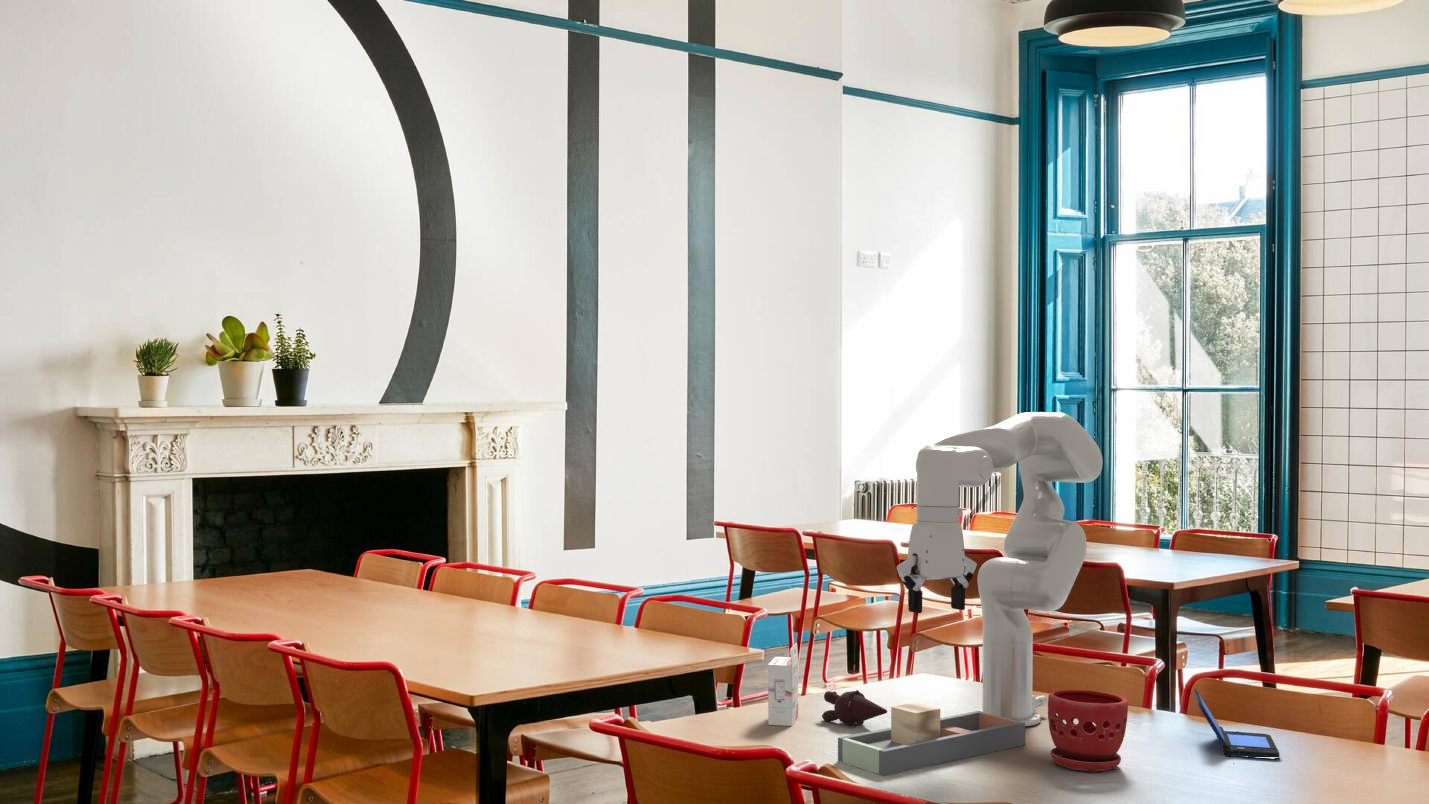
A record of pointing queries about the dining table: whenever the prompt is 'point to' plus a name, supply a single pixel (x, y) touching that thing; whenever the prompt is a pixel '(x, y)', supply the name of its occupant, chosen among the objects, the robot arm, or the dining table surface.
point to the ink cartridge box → (783, 689)
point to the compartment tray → (932, 744)
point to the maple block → (914, 723)
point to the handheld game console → (1239, 738)
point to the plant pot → (1087, 728)
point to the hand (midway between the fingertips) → (936, 610)
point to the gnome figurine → (851, 708)
